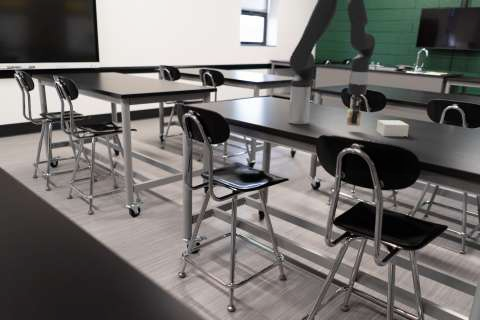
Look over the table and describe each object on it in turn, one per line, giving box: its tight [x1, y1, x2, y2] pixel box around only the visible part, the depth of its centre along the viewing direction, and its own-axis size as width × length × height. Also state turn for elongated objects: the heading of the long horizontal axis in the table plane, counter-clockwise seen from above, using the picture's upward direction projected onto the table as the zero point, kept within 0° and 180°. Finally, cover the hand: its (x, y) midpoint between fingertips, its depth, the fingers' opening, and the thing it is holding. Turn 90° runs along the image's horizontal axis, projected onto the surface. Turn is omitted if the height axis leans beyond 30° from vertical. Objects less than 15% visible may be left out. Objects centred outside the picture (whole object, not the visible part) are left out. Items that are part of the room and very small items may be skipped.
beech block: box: [346, 108, 362, 127], centre depth 173 cm, size 5×5×6 cm
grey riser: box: [376, 119, 410, 138], centre depth 172 cm, size 10×10×5 cm
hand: (353, 121), depth 174 cm, fingers closed on beech block, 5 cm apart
